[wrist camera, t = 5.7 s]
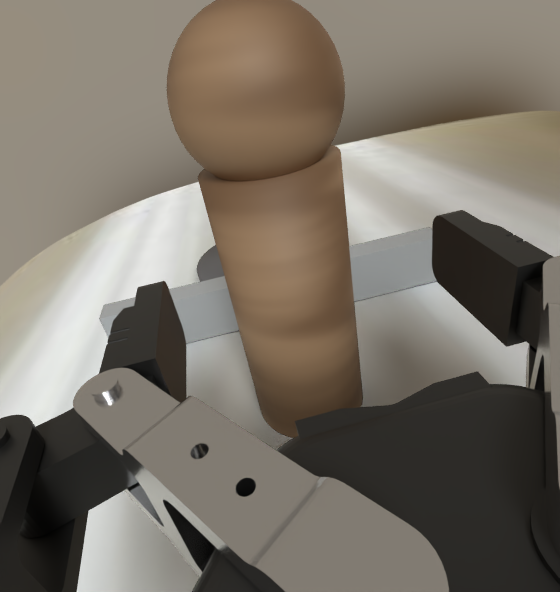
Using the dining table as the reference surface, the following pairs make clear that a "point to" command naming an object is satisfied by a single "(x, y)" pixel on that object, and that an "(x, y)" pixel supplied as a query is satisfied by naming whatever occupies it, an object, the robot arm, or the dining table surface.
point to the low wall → (365, 278)
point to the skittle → (274, 195)
